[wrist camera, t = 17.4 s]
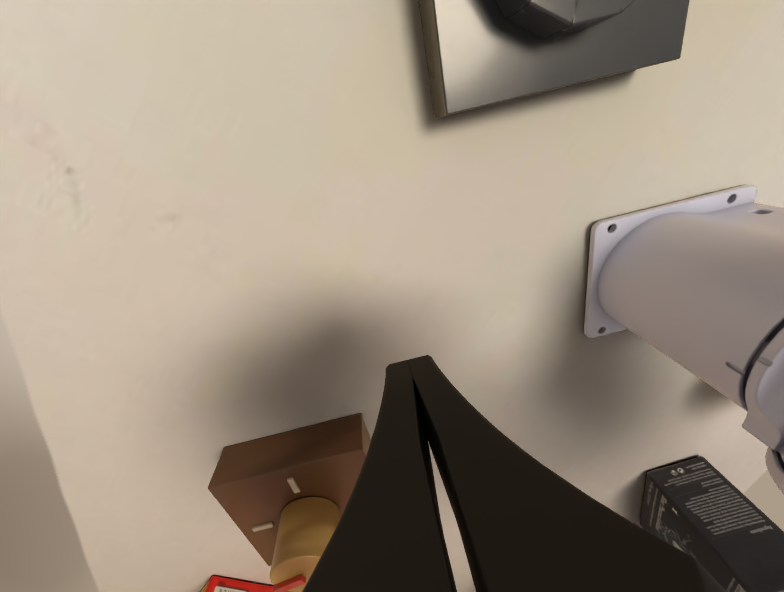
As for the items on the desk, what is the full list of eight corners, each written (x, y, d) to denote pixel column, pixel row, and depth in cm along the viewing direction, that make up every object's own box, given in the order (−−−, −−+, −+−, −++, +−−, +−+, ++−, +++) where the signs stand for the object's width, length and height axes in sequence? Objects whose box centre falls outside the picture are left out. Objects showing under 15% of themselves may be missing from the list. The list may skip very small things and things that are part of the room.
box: (642, 470, 30) (757, 600, 22) (701, 452, 30) (839, 577, 22) (636, 523, 34) (730, 649, 26) (687, 508, 34) (798, 630, 26)
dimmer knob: (321, 488, 21) (315, 554, 18) (350, 518, 23) (350, 583, 20) (268, 510, 22) (253, 579, 18) (301, 538, 24) (293, 605, 20)
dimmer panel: (361, 412, 23) (362, 451, 20) (391, 495, 27) (396, 536, 25) (223, 447, 23) (205, 490, 20) (276, 524, 27) (268, 569, 25)
